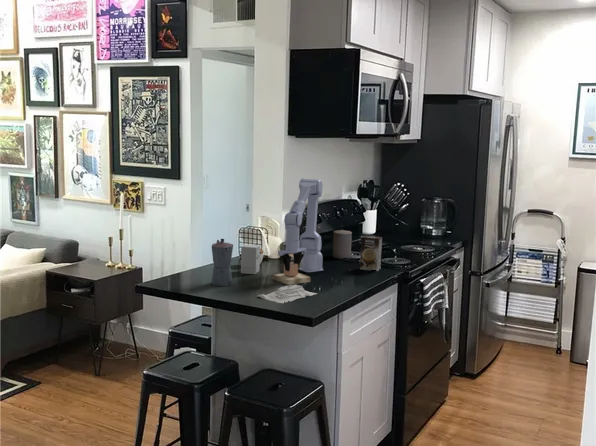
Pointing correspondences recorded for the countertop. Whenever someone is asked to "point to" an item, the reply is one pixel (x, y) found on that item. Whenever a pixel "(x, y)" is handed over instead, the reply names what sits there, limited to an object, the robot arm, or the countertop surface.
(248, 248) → the supplement box
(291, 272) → the block
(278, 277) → the base
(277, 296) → the terrain model
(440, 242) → the countertop surface
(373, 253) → the coffee box
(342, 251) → the pillar candle
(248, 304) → the countertop surface
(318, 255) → the robot arm
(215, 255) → the moka pot
